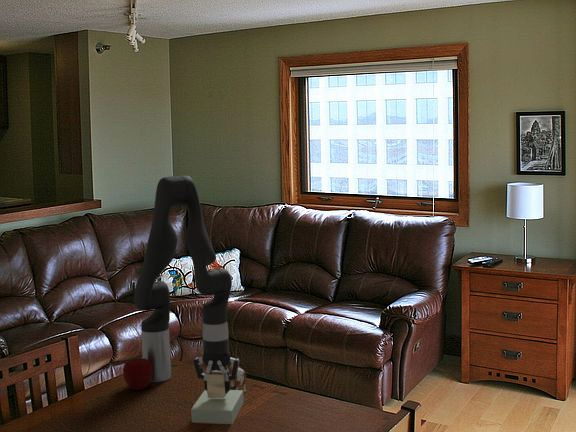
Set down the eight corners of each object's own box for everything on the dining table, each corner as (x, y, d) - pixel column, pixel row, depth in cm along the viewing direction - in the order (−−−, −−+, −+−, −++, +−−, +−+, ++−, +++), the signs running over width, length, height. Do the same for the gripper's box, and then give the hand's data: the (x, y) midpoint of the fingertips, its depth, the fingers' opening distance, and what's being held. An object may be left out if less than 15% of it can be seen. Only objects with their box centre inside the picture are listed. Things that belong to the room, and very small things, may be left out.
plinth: (205, 401, 229) (205, 389, 228) (243, 402, 227) (243, 390, 226) (191, 422, 213) (191, 409, 212) (232, 424, 211) (231, 410, 211)
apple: (144, 395, 235) (143, 364, 234) (118, 392, 238) (116, 362, 237) (158, 384, 244) (157, 355, 243) (133, 382, 247) (131, 353, 246)
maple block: (211, 391, 222) (210, 369, 221) (228, 392, 221) (227, 369, 220) (207, 397, 217) (206, 374, 216) (224, 398, 216) (223, 375, 215)
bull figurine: (236, 397, 231) (235, 372, 230) (228, 383, 244) (227, 359, 243) (249, 396, 232) (249, 371, 231) (240, 381, 245) (240, 358, 244)
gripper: (242, 333, 219) (243, 388, 222) (195, 332, 221) (197, 386, 224) (236, 340, 212) (238, 397, 214) (188, 339, 214) (190, 395, 216)
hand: (217, 391), depth 219 cm, fingers closed on maple block, 5 cm apart
